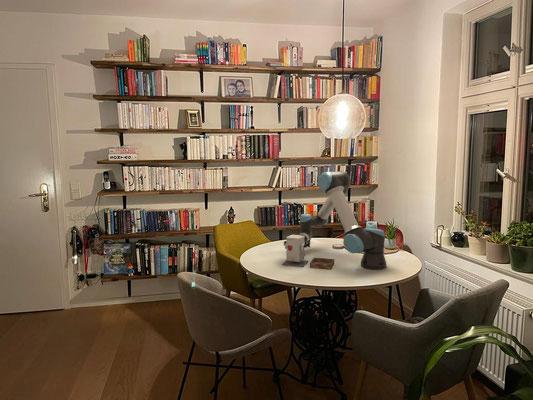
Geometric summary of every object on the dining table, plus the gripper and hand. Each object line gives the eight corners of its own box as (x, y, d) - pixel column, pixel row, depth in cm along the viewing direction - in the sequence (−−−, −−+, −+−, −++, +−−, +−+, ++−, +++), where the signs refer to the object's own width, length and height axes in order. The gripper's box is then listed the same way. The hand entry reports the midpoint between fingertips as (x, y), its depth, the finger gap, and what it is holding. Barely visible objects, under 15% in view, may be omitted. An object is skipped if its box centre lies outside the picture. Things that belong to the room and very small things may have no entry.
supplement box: (285, 260, 235) (285, 237, 233) (291, 257, 243) (291, 234, 241) (299, 262, 231) (299, 238, 229) (304, 258, 239) (304, 235, 237)
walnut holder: (334, 263, 235) (334, 258, 235) (330, 269, 223) (331, 264, 223) (314, 261, 240) (314, 257, 239) (309, 267, 228) (309, 262, 227)
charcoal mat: (308, 261, 241) (308, 260, 241) (303, 267, 229) (303, 266, 229) (287, 259, 245) (287, 258, 245) (281, 265, 233) (281, 264, 233)
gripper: (318, 246, 249) (311, 254, 229) (286, 243, 257) (276, 251, 236) (318, 235, 249) (311, 242, 228) (286, 233, 256) (276, 240, 235)
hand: (293, 247), depth 232 cm, fingers closed on supplement box, 10 cm apart
